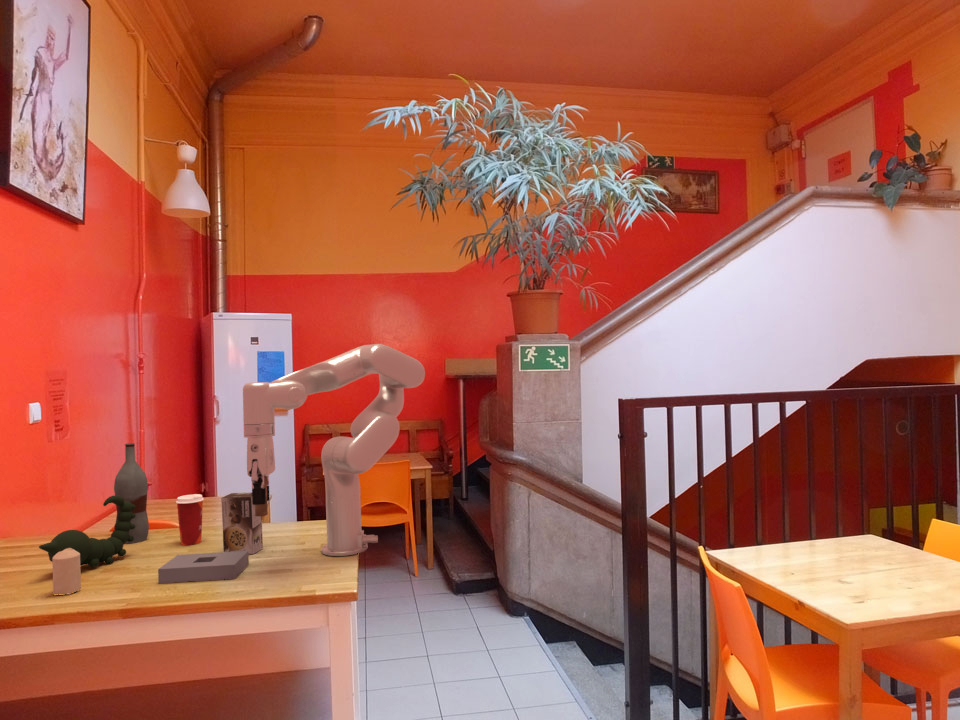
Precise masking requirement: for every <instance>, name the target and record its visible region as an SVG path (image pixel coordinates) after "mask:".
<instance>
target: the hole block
mask: <svg viewBox="0 0 960 720" xmlns="http://www.w3.org/2000/svg"><path fill="white" fill-rule="evenodd" d="M249 562H250V561H249V554H248V551H237V552H224V551H223V552H207V553H205V552H203V553H189V554H188V553H185V554H176V556H173V558H171V559H170V560H169V561H167V562H166V563H164V564H163V565H161V567H159V568H158V569H157V571H158V574H157V575H158V577H157V578H158V584H175V583H174V582H178V583H189V582H188V581H195V582H207V581H209V580H211V581H223V580H224V579H225V580H227V581H228V580H236V579H237V577H238V576H239V575H240V574H241V573H242V572H243V571H244V570H245V569H246V568H247V567H248V566H249Z"/></svg>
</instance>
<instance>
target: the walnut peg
mask: <svg viewBox="0 0 960 720" xmlns="http://www.w3.org/2000/svg"><path fill="white" fill-rule="evenodd" d="M258 476H262V475H258ZM260 480H261V478H260ZM267 486H268V485H267V476H265V475H264V488H266V503H265V504H262V505H255V516H262V517H265V516H267V515H268V514H269V511H268V501H267Z"/></svg>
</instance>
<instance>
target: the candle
mask: <svg viewBox="0 0 960 720" xmlns="http://www.w3.org/2000/svg"><path fill="white" fill-rule="evenodd" d="M51 563H52V591H53V592H52V594H53V595H54V594H58V595H59V594H67V593H72V592H75V591H78V590H80V589H82V581H81V580H82V575H81V574H82V573H81V566H80V553H79V552H77V551H75V550H74V549H72V548H67V549H64V550H63V551H61V552H58V553H57V554H56V555H55V556H54V557H53V558H52V561H51ZM80 591H81V590H80ZM78 592H79V591H78Z"/></svg>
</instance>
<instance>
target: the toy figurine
mask: <svg viewBox="0 0 960 720" xmlns="http://www.w3.org/2000/svg"><path fill="white" fill-rule="evenodd" d="M109 504H114V505H115V506H116V505H117V506H119V512H118V514H117V513H116V517H117V520H118V521H117V522H116V521H115V523H114V527H113V529H114V530H112V532H111V534H110V536H109V537H107V538H101V539H98V538H96V537H89V536H88V535H87V534H86V532H83V531H81V530H79V529H69V530H64V531H62V532H60V533H58V534H57V535H55V536H54V537H53V539H51V541H50V542H48V543H43V544H41V545H38V549H40V550H43V551H44V552H46V553H47V554H48V555H47V556H48V558H49V559H48V560H49V561H50V562H52V558H53V557H54V556H55V555H56V554H57V553H58V552H61V551H63V550H64V549H67V548H72V549H74V550H75V551H77V552H79V553H80V567H82V566H85V565H87V566H88V567H90V568H92V569H94V568H97V567H98V566H99V564H100V563H105V564H107V565H111V564H112V563H114V556H115V555H117V556H118V557H124V556H126V553H127V550H126V549H125V548H124V545H126V544H125V543H126V542H127V541H128V542H132V541H133V540H134V537H133V536H130V534H129V531H130V529H135V525H134V524H131V522H130V521H131V519H133V518H135V516H136V515H135V514H134V513H132V512H131V511H132V509H134V508H135V505H132V503H130V502H128V501H125V502H124V499H123V497H121V496H118V495H115V494H114V495H111V496H108V498H106V499H105V500H104V501H103V504H102V505H103V507H106V506H107V505H109ZM110 563H111V564H110Z"/></svg>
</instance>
